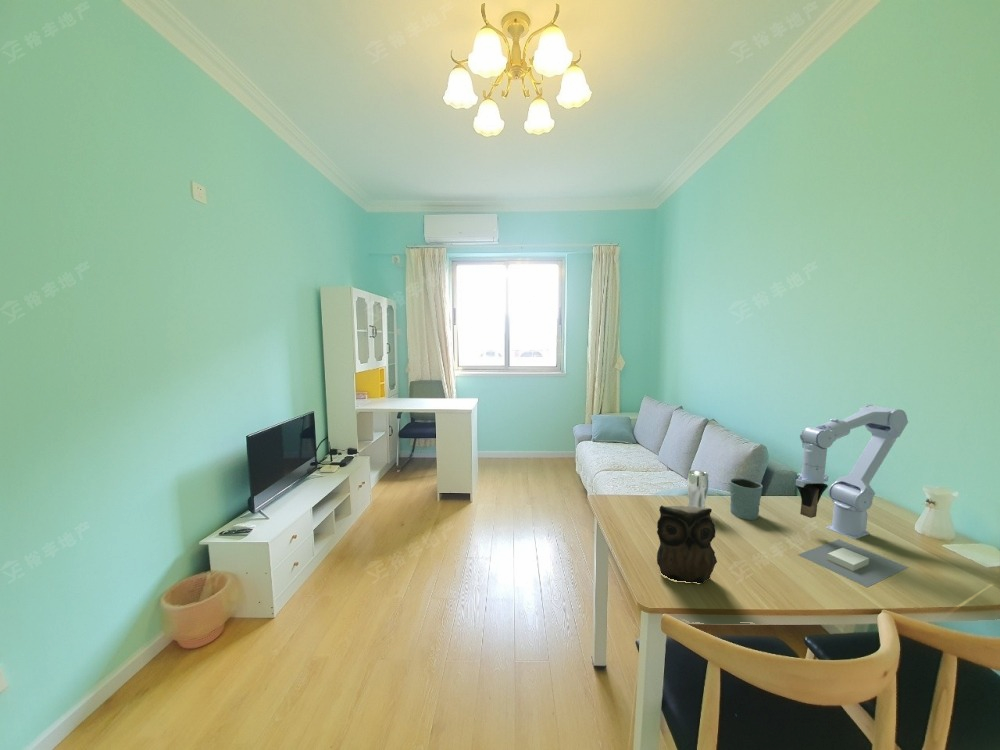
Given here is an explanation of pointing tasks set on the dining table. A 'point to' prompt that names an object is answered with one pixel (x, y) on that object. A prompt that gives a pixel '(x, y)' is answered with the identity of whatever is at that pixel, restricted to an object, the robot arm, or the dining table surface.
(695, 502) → the silver upright cylinder
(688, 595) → the dining table surface
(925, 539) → the dining table surface
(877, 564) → the mat
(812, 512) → the block
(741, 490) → the blue-grey cup
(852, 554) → the tile
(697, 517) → the owl
